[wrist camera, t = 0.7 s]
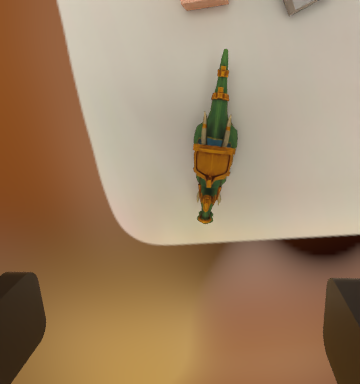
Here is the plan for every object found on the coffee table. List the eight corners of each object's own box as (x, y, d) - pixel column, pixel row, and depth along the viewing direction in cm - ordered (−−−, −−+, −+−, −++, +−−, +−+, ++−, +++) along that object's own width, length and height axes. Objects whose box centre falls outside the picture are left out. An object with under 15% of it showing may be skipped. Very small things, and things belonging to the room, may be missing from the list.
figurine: (191, 199, 30) (176, 245, 22) (206, 50, 25) (195, 42, 18) (226, 204, 29) (224, 252, 22) (248, 54, 25) (254, 47, 17)
